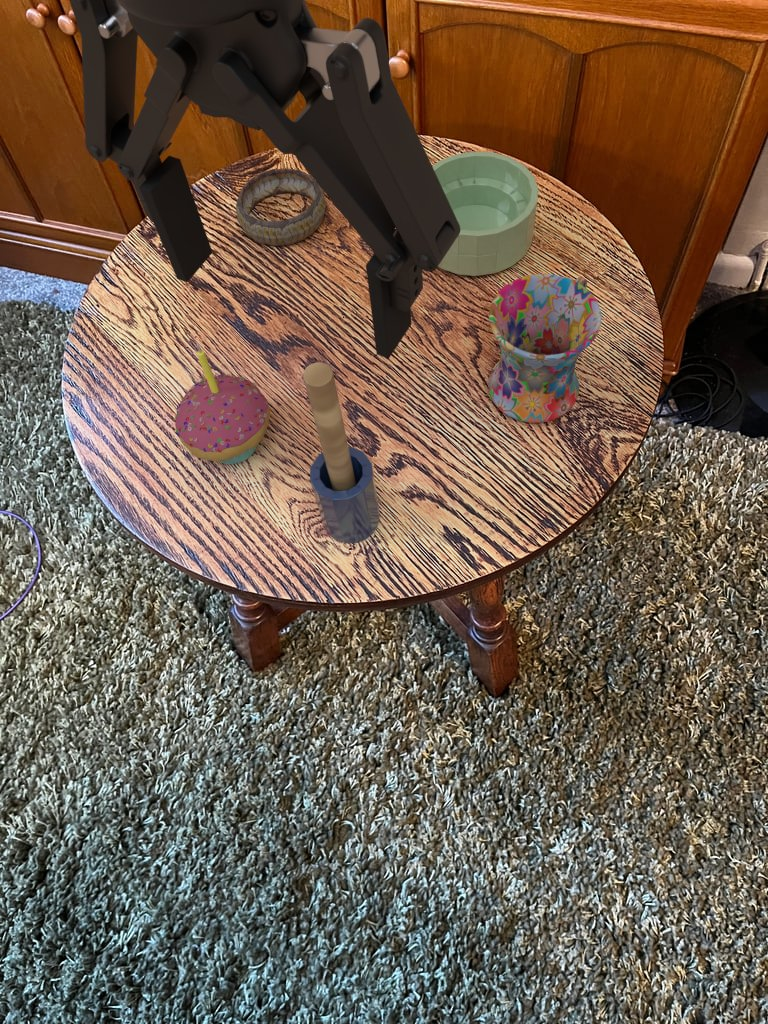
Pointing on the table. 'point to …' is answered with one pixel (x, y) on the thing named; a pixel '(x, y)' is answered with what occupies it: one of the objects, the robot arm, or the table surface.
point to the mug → (540, 344)
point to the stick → (329, 424)
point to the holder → (347, 500)
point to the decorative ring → (273, 185)
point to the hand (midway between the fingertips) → (290, 301)
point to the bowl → (488, 211)
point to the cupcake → (222, 417)
